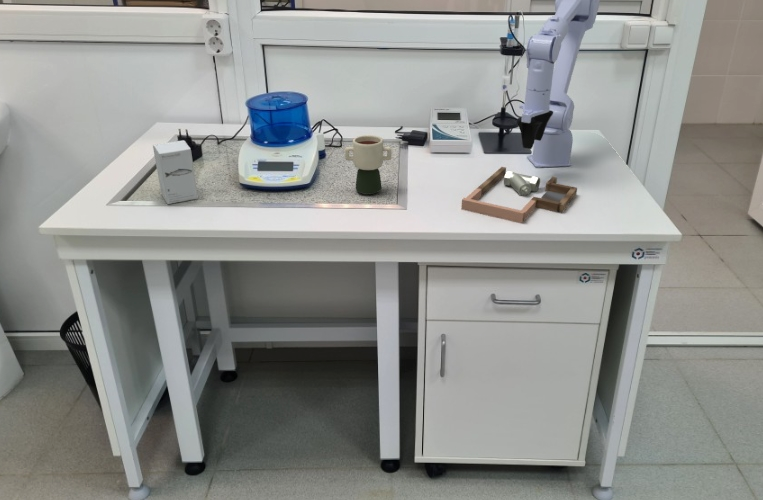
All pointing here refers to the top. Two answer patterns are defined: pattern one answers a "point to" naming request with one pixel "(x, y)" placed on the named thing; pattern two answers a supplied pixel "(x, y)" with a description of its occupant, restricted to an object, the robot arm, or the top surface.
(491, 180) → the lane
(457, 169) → the top surface
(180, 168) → the supplement box
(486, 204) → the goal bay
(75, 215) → the top surface
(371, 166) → the character mug
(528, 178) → the pipe fitting
